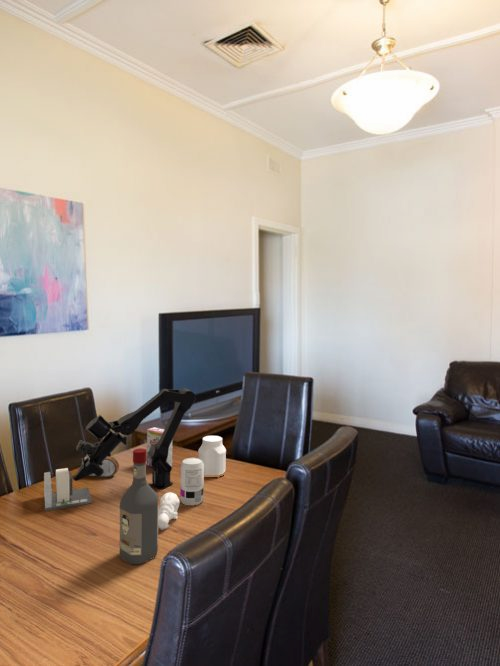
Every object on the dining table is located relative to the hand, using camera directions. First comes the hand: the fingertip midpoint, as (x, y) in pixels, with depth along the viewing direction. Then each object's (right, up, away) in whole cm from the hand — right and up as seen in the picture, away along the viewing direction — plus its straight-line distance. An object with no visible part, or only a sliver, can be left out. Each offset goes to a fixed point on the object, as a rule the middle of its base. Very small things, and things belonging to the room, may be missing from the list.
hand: (74, 480), depth 160 cm
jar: (+47, -7, +28) cm, 55 cm away
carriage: (-3, -6, -2) cm, 7 cm away
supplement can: (+42, -8, 0) cm, 43 cm away
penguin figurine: (+36, -9, -16) cm, 40 cm away
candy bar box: (+24, -6, +33) cm, 41 cm away
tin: (+2, -6, +22) cm, 23 cm away
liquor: (+32, -10, -34) cm, 48 cm away
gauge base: (-2, -7, -1) cm, 7 cm away
